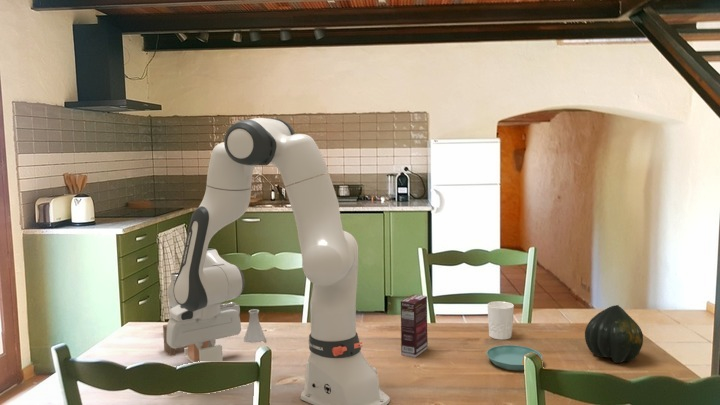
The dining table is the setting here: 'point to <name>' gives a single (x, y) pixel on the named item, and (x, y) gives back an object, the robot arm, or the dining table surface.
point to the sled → (207, 354)
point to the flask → (254, 329)
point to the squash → (614, 335)
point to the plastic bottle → (170, 292)
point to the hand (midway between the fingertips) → (205, 356)
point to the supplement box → (414, 325)
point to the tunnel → (166, 347)
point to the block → (195, 351)
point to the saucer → (509, 356)
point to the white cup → (500, 319)
